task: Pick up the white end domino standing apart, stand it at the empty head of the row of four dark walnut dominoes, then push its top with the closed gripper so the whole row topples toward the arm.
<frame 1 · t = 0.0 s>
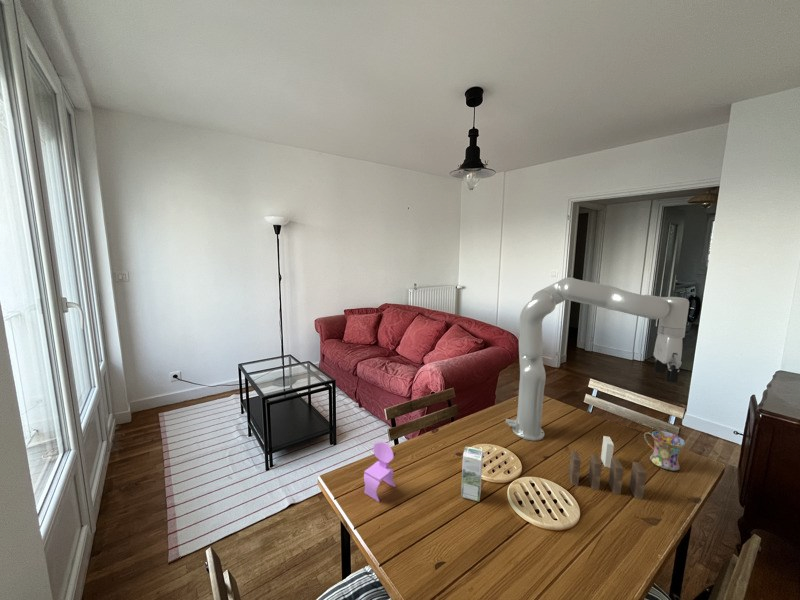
hand: (664, 376, 119), 31 cm above the table, fingers open, 9 cm apart
white end domino: (605, 462, 118), on the table
toy chair: (379, 490, 104), on the table
syrup box: (471, 494, 103), on the table
mug: (659, 462, 119), on the table
tile 1: (635, 492, 104), on the table
tile 3: (593, 484, 108), on the table
tile 4: (573, 479, 109), on the table
tile 2: (614, 488, 106), on the table
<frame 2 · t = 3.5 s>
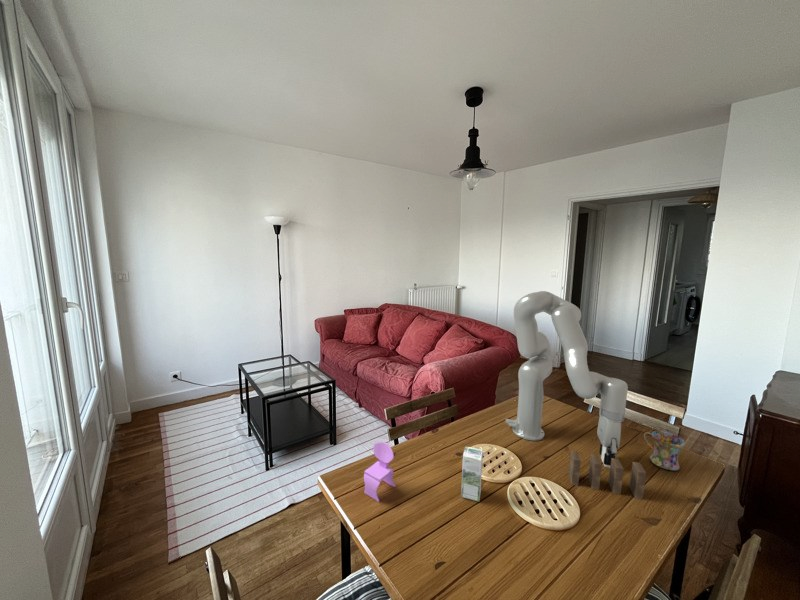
hand: (606, 459, 118), 1 cm above the table, fingers closed on white end domino, 5 cm apart
white end domino: (606, 463, 118), on the table, touching gripper
everything else where it was.
when the fingers open (3 cm above the table, at t = 8.6 s): white end domino drops 1 cm, on the table.
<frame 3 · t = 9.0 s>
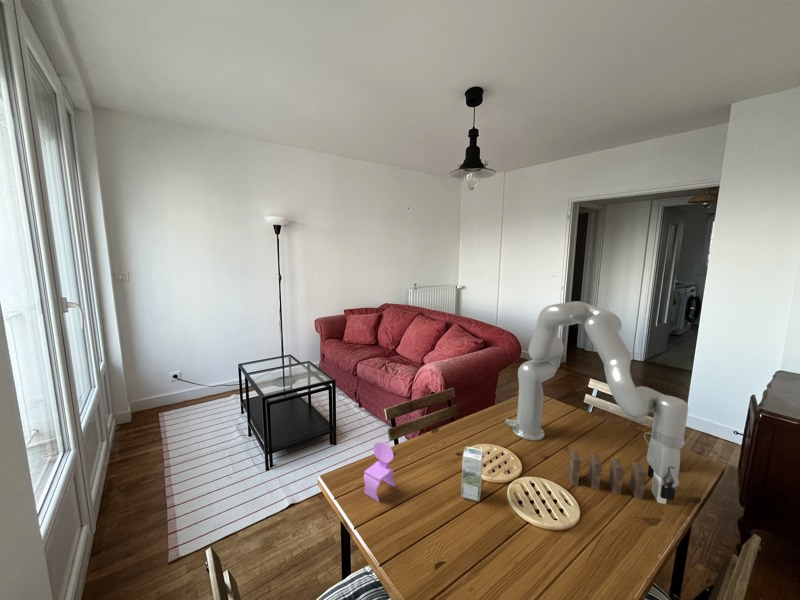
hand: (659, 487, 101), 3 cm above the table, fingers open, 9 cm apart
white end domino: (658, 497, 102), on the table
everything else where it was.
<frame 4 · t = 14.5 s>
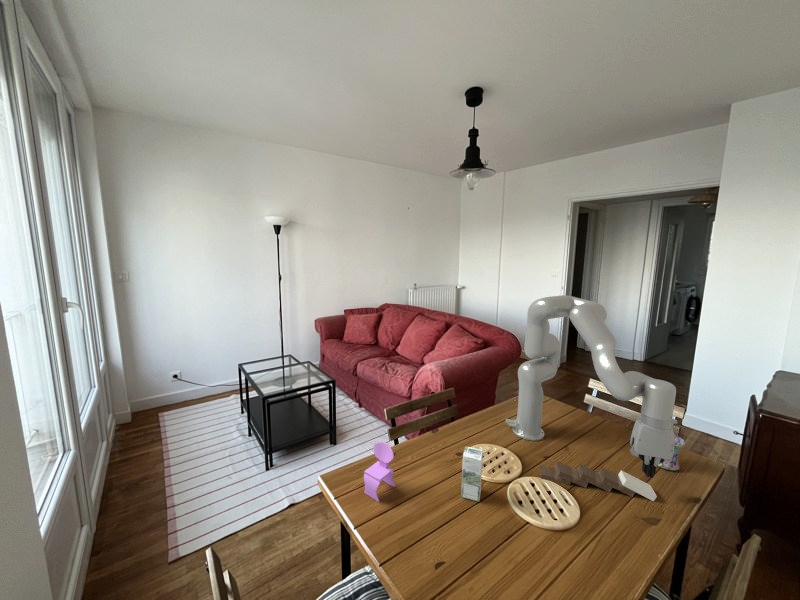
hand: (648, 474, 102), 7 cm above the table, fingers closed
white end domino: (651, 493, 102), point 1 cm above the table, tilted 69°, touching tile 1
tile 1: (631, 489, 104), point 1 cm above the table, tilted 71°, touching white end domino, tile 2
tile 3: (584, 480, 108), point 1 cm above the table, tilted 73°, touching tile 4
tile 4: (568, 478, 110), on the table, tilted 90°, touching tile 3
tile 2: (608, 484, 106), point 1 cm above the table, tilted 73°, touching tile 1
everything else where it was.
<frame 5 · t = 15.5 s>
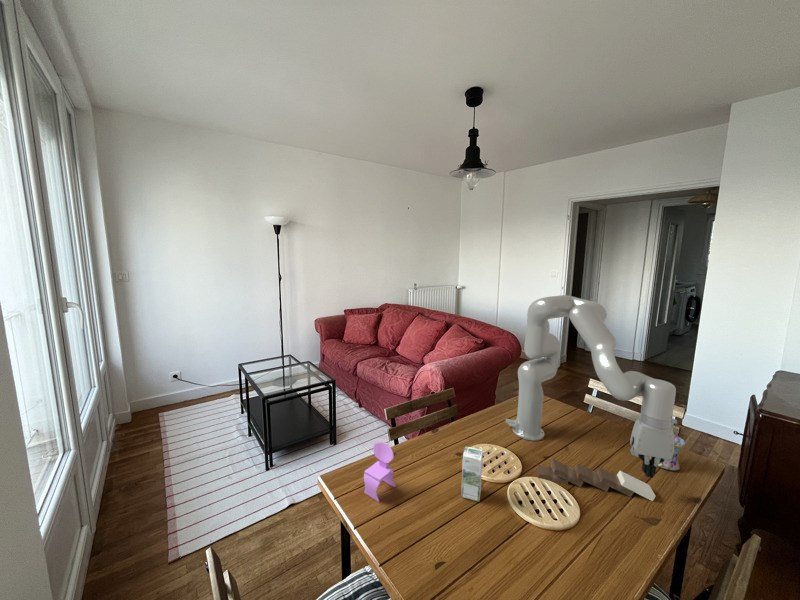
hand: (647, 474, 102), 7 cm above the table, fingers closed
tile 3: (579, 479, 108), point 1 cm above the table, tilted 69°, touching tile 2
tile 4: (566, 478, 110), on the table, tilted 90°
tile 2: (606, 483, 106), point 1 cm above the table, tilted 74°, touching tile 1, tile 3
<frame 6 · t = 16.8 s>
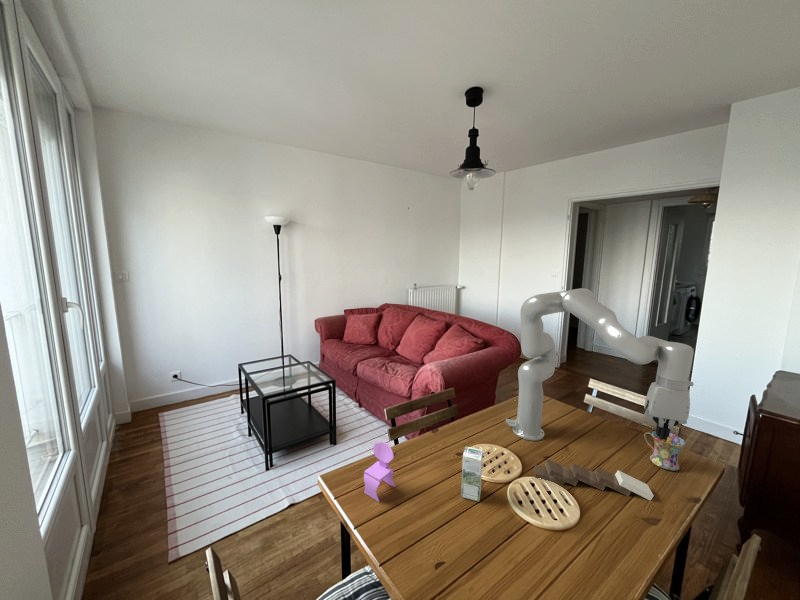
hand: (661, 437, 102), 19 cm above the table, fingers closed
tile 3: (574, 478, 108), point 1 cm above the table, tilted 71°
tile 4: (563, 477, 110), on the table, tilted 90°
tile 2: (602, 482, 107), point 1 cm above the table, tilted 73°, touching tile 1
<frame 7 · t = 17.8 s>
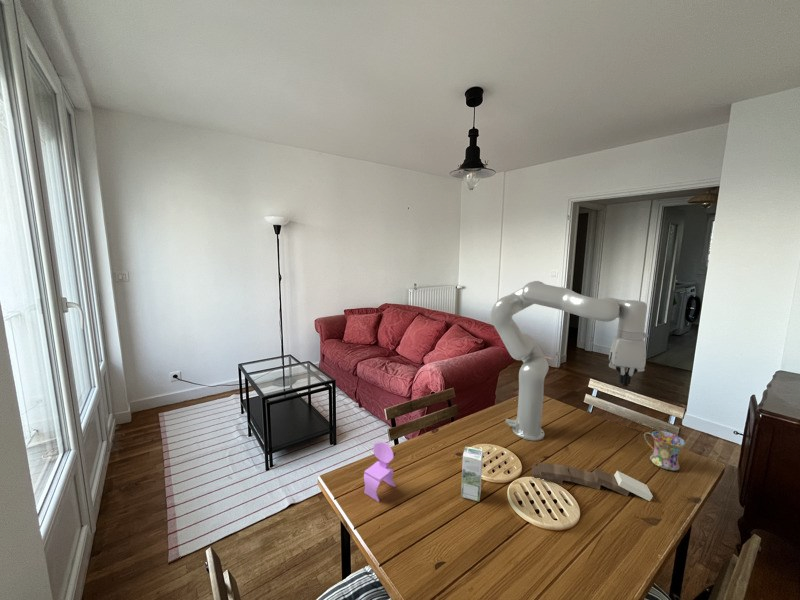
hand: (624, 384, 117), 29 cm above the table, fingers closed
tile 1: (625, 488, 104), point 1 cm above the table, tilted 75°, touching white end domino
tile 3: (567, 473, 109), point 2 cm above the table, tilted 90°
tile 2: (598, 481, 107), point 1 cm above the table, tilted 84°
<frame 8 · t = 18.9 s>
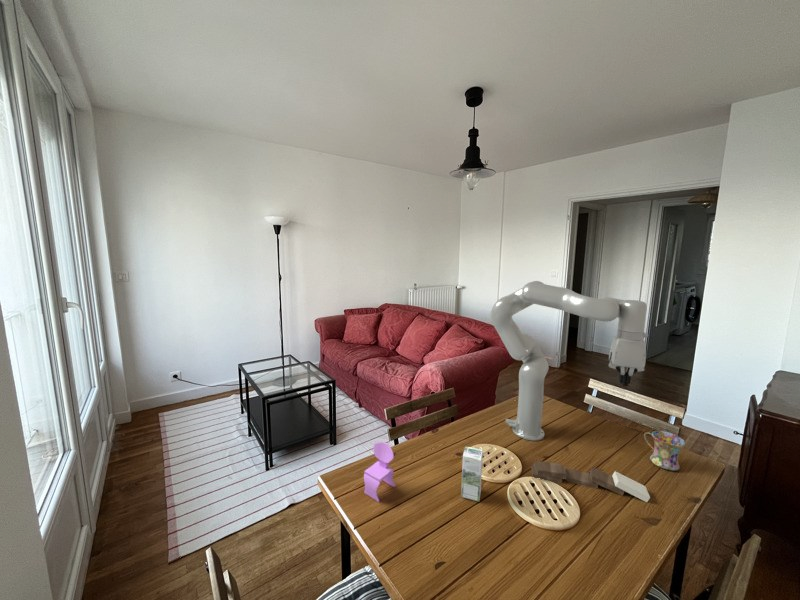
hand: (624, 384, 117), 29 cm above the table, fingers closed
white end domino: (646, 494, 102), point 1 cm above the table, tilted 72°, touching tile 1
tile 1: (622, 487, 105), point 1 cm above the table, tilted 78°, touching white end domino
tile 3: (564, 471, 110), point 2 cm above the table, tilted 90°, touching tile 4
tile 4: (560, 477, 110), on the table, tilted 90°, touching tile 3
tile 2: (596, 482, 108), on the table, tilted 90°
everything else where it was.
at the end: tile 4 tilted 90°; white end domino inside the target area (3.0 cm from its centre), point 1.0 cm above the table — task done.
